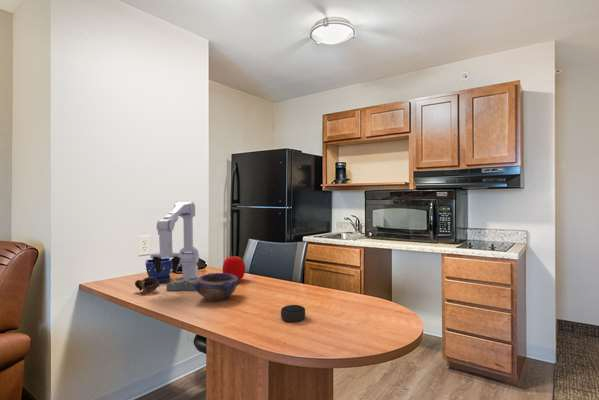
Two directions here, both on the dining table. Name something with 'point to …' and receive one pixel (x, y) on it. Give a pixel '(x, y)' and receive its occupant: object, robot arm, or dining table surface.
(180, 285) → the panel
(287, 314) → the smart speaker
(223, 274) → the bowl
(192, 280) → the slate button
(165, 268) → the flower pot
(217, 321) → the dining table surface
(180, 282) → the peach ball
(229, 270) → the tomato
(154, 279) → the brown bird figurine
